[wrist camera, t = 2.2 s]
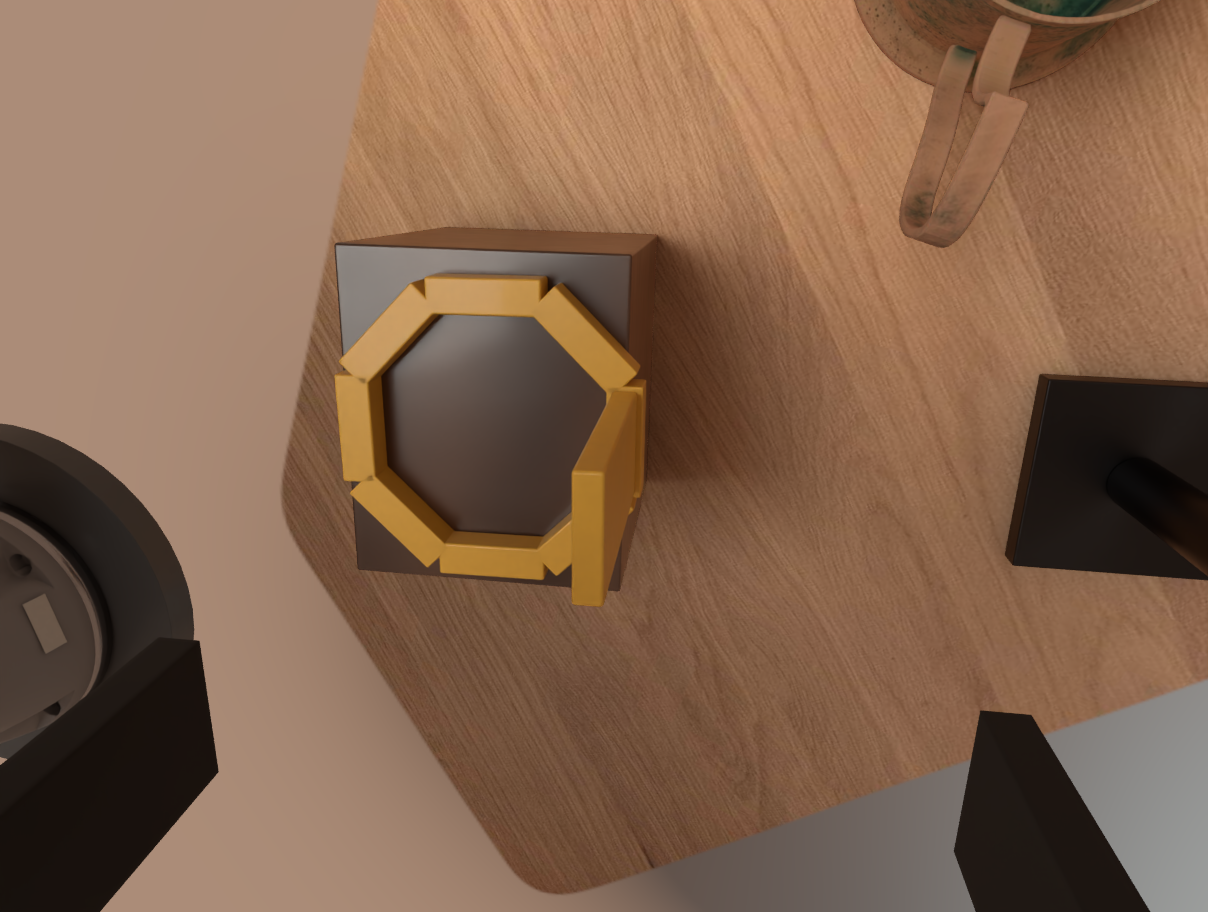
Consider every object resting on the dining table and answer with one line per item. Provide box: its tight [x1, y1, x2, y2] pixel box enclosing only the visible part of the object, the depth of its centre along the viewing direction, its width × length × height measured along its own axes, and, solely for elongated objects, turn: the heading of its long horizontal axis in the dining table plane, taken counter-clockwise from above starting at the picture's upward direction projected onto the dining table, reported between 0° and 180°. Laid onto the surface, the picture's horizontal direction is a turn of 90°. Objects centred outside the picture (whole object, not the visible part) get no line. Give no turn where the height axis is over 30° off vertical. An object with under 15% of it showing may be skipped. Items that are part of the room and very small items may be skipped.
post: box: [1005, 374, 1208, 580], centre depth 32 cm, size 9×9×13 cm
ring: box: [334, 273, 646, 607], centre depth 25 cm, size 10×10×9 cm
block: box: [335, 227, 658, 591], centre depth 35 cm, size 10×12×12 cm
